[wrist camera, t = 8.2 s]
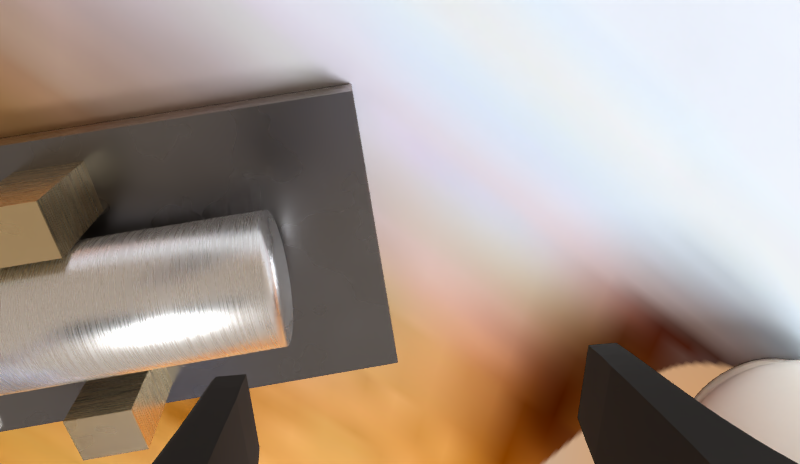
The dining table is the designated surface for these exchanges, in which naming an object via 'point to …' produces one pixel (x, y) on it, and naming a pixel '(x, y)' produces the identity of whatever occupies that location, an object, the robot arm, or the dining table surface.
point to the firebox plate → (197, 200)
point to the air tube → (145, 302)
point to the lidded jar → (760, 402)
